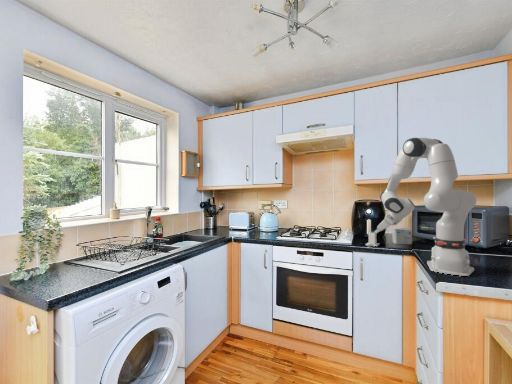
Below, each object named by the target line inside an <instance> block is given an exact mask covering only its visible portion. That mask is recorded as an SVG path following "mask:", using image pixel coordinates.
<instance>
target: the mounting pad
mask: <svg viewBox="0 0 512 384" xmlns="http://www.w3.org/2000/svg"><path fill="white" fill-rule="evenodd" d="M379 245H380V243H379V242H378V243H377V242H376V244H375V245H372V244H369V241H368V242H367V243H365V246H368V247H369V246H370V247H375V246H376V247H378V246H379Z"/></svg>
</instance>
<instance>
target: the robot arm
mask: <svg viewBox="0 0 512 384" xmlns="http://www.w3.org/2000/svg"><path fill="white" fill-rule="evenodd" d="M419 159H426V160H427V163H428V168H429V173H430V174H429V175H430V181H431V182H430V187H429V190H428V191H427V193H425V195H424V197H423V205H424V206H425V209H427V210H429V211H433V212H436V213H437V212H438V213H443V214H442V216H441V217H440V218H439V219H438V220H437V221H436V223H435V237H434V246H433V247H431V256H430V259H431V260H427V262H426V264H427V266H428V267H429V270H430V271H431V272H433V271H434V273H437V272H439V273H438V274H442V273H444V274H443V275H447V274H451V275H450V276H453V275H459V276H458V277H461V276H468V277H470V275H471V274H472V273H473V272H474V271H475V268H474V267H473V266H470V265H471V260H470V257H471V256H470V254H469V251H468V250H466V249H465V248H466V242H465V241H466V240H465V239H464V238H465V237H464V234H465V223H466V220H467V217H468V215H469V214H470V213H469V212H470V211H471V210H472V209H473V208H474V207H476V204H477V197H476V195H475V194H474V193H473V192H471V191H467V190H464V189H454V188H453V187H454V182H455V181H456V180H457V179H458V177H459V173H458V169H457V166H456V165H457V164H456V160H455V157H454V153H453V150H452V149H451V146H449V145H448V144H446V143H443V141H442V140H440V139H436V138H433V139H432V138H428V137H412V138H409V139H407V140H405V141H404V143H403V144H402V148H401V149H400V151H399V153H398V154H397V157H396V159H395V162H394V164H393V167H392V172H391V174H390V177H389V179H388V183H387V184H386V187H385V188H384V189H383V191H382V192H381V193H380V196H379V199H380V202H382V205H383V206H384V207H385V209H386V210H388V211H389V212H388V213H386V214H385V216H384V219H383V220H382V221H381V222H379V224H378V225H377V227H376V229H375V230H374V231H373V232H375V233H376V234H378V233H379V232H382V231H384V230H386V229H387V228H389V227H390V226H397V225H398V224H399V223H401V221H403V219H405V218H407V217H408V216H409V215H411V213H412V212H413V211H414V210H415V208H416V205H415V204H414V202H413V201H412V200H411V198H408V197H406V198H405V197H401V196H397V190H398V188H399V185H400V183H401V181H402V180H405V179H407V178H410V177H411V175H412V174H413V172H414V170H415V168H416V165H417V162H418V160H419Z"/></svg>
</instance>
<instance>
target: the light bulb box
mask: <svg viewBox="0 0 512 384" xmlns="http://www.w3.org/2000/svg"><path fill="white" fill-rule="evenodd" d="M412 234H413V231H412V228H408V227H392V243H394V244H396V245H412V244H413V235H412Z"/></svg>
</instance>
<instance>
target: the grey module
mask: <svg viewBox="0 0 512 384" xmlns="http://www.w3.org/2000/svg"><path fill="white" fill-rule="evenodd" d="M368 242H369V244H372V245H375V244H376V243H377V233H375V232H374V231H369V232H368Z"/></svg>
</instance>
